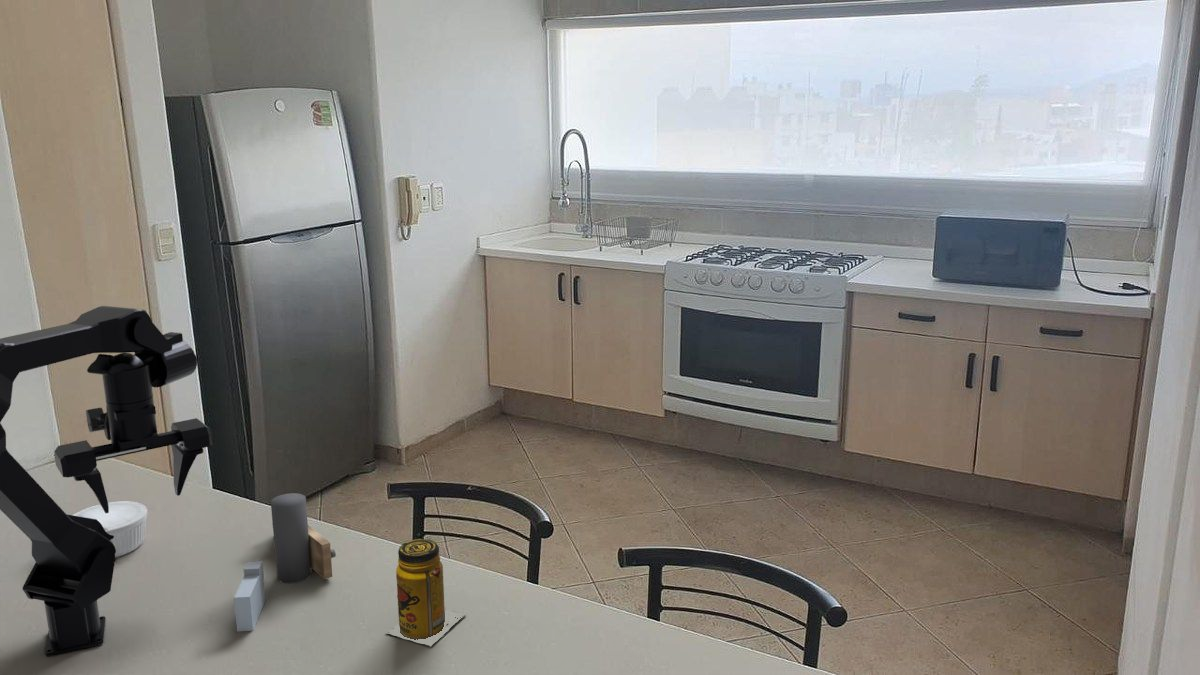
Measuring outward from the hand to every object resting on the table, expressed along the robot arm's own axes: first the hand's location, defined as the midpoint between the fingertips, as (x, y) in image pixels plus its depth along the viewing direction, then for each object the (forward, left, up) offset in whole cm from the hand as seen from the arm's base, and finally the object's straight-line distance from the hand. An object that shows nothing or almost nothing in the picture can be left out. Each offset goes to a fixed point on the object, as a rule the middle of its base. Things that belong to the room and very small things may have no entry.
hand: (142, 503), depth 125 cm
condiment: (-26, -33, -13) cm, 44 cm away
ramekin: (+16, +6, -13) cm, 22 cm away
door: (-2, -22, -13) cm, 25 cm away
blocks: (-4, -15, -13) cm, 20 cm away
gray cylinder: (-5, -19, -13) cm, 23 cm away
